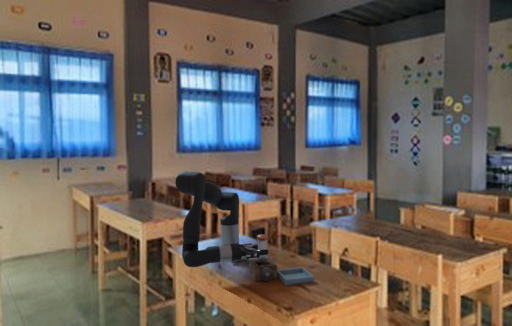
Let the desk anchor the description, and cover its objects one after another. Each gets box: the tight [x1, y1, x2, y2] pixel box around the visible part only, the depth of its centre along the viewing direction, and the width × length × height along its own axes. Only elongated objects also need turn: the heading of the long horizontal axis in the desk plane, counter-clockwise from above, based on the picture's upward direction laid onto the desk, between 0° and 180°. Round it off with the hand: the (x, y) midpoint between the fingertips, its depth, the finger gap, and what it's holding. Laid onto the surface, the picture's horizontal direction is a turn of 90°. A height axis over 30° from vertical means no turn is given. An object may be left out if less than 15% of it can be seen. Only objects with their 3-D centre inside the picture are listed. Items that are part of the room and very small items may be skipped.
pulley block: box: [248, 257, 278, 282], centre depth 181 cm, size 12×10×6 cm
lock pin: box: [256, 233, 269, 265], centre depth 181 cm, size 5×5×15 cm
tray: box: [277, 266, 315, 287], centre depth 177 cm, size 13×13×2 cm
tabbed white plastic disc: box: [240, 256, 250, 265], centre depth 201 cm, size 15×8×11 cm
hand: (265, 249), depth 181 cm, fingers open, 8 cm apart
